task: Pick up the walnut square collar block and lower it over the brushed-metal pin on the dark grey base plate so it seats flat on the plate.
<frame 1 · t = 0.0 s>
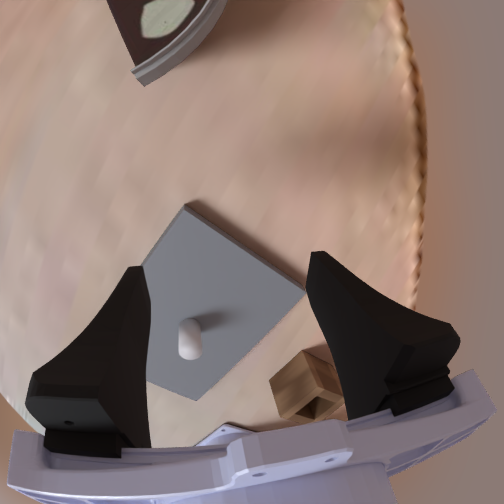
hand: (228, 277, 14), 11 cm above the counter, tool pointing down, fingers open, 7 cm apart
food container: (170, 2, 16), on the counter
walnut collar: (301, 373, 33), on the counter
pin plate: (189, 318, 27), on the counter
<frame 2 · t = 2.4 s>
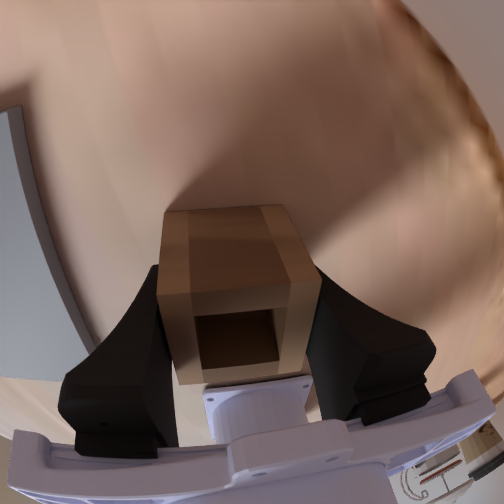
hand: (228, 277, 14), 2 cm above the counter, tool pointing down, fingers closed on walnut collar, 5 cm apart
coffee cup: (468, 418, 53), on the counter
walnut collar: (225, 256, 15), on the counter, touching gripper
french press: (414, 425, 40), on the counter
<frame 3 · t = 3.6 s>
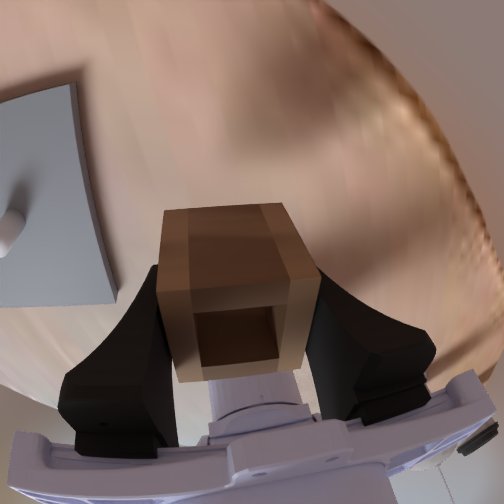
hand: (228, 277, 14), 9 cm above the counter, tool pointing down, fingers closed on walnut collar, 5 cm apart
coffee cup: (455, 394, 59), on the counter
walnut collar: (224, 254, 15), point 7 cm above the counter, touching gripper
french press: (397, 390, 46), on the counter
pin plate: (21, 212, 18), on the counter
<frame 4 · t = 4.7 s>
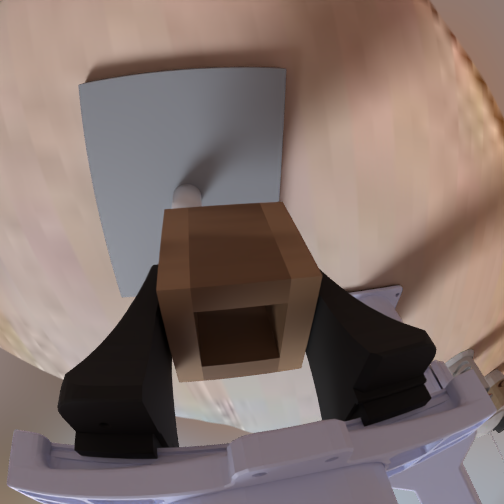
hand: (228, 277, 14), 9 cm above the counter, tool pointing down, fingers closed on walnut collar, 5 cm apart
coffee cup: (487, 377, 61), on the counter
walnut collar: (225, 253, 15), point 8 cm above the counter, touching gripper
french press: (449, 369, 48), on the counter
pin plate: (186, 189, 21), on the counter
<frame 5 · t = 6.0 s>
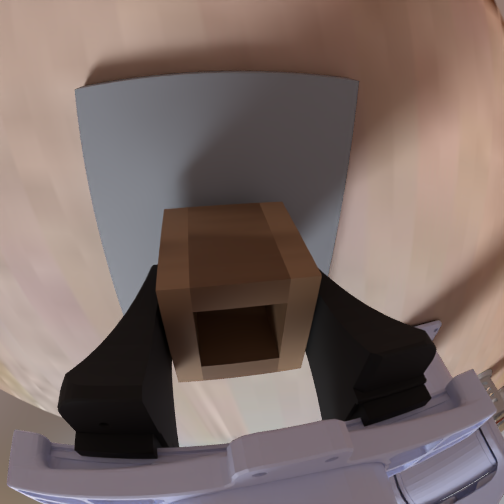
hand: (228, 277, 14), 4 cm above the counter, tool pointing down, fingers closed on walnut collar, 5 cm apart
coffee cup: (498, 391, 57), on the counter
walnut collar: (224, 253, 15), point 2 cm above the counter, touching gripper
french press: (467, 389, 44), on the counter
pin plate: (220, 228, 17), on the counter
when the fingers open (4 cm above the counter, at t = 6.9 s): walnut collar drops 1 cm, resting on pin plate.
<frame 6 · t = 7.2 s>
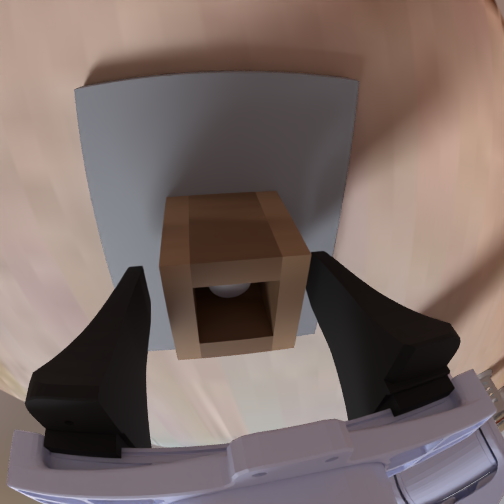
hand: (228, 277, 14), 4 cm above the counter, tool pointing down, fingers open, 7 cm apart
coffee cup: (498, 391, 57), on the counter
walnut collar: (222, 240, 16), point 1 cm above the counter, touching pin plate
french press: (467, 389, 44), on the counter
pin plate: (220, 229, 17), on the counter
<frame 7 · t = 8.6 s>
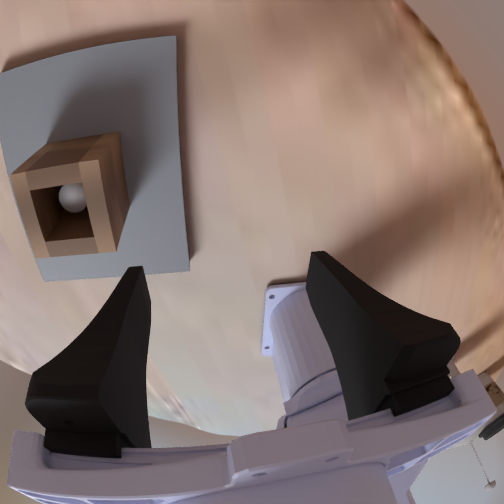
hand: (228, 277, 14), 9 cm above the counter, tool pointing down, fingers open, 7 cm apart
coffee cup: (474, 380, 59), on the counter
walnut collar: (87, 175, 18), point 1 cm above the counter, touching pin plate
french press: (427, 372, 46), on the counter
pin plate: (92, 170, 19), on the counter
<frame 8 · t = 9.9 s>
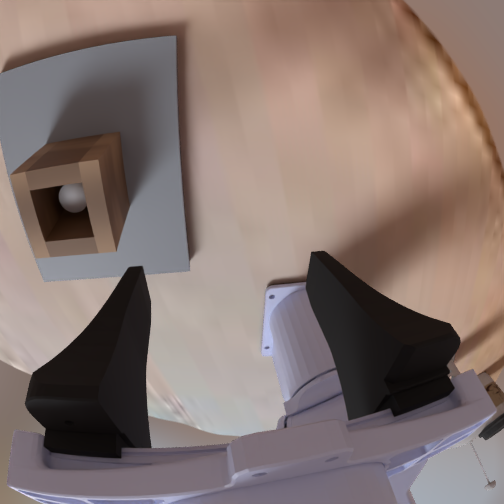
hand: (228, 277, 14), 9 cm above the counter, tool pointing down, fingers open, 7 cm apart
coffee cup: (474, 380, 59), on the counter
walnut collar: (87, 175, 18), point 1 cm above the counter, touching pin plate
french press: (427, 372, 46), on the counter
pin plate: (92, 170, 19), on the counter
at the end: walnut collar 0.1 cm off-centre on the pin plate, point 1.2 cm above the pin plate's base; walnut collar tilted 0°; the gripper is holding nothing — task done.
